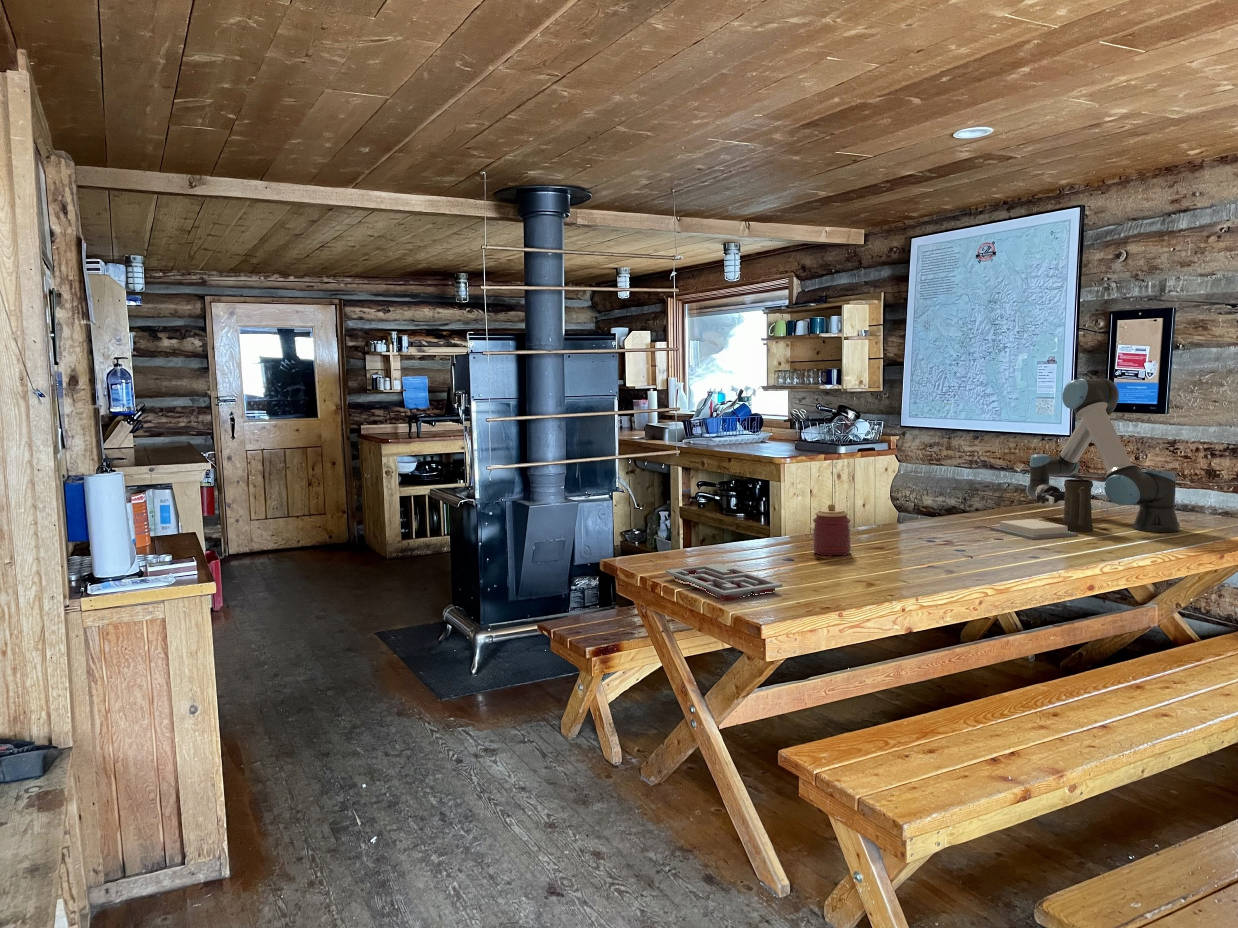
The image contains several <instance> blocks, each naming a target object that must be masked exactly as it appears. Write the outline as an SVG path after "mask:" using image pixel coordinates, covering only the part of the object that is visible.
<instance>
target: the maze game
mask: <svg viewBox="0 0 1238 928" xmlns="http://www.w3.org/2000/svg"><path fill="white" fill-rule="evenodd" d="M665 573H666V574H667V575H671V576H673V579H674V578H675V579H678V580H681V581H683V582H689V583H692V584H695V585H697V586H699V587H702V588H704V589H706V591H707V592H709V593H711V594H713V595H715V596H717V597H719V598H721V599H723V600H722V601H724V600H725V601H729V600H728V599H731V600H736V599H735V598H737V599H741V598H740V597H743V596H748V595H751V593H752V594H754V595H755V594H760V593H765V592H773V591H775V592H776V588H778V589H779V588H783V583H780V582H777V581H774V580H772V579H768V578H765V577H761V576H759V575H755V574H753V573H750V572H746V571H743V570H741V569H737V568H734V567H732V566H729V565H724V564H721V563H719V562H718V563H711V564H705V565H696V566H687V567H681V568H674V569H673V568H672V569H666V570H665ZM695 573H696V575H689V574H695ZM751 596H752V595H751ZM719 598H718V599H719ZM721 599H720V600H721Z"/></svg>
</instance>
